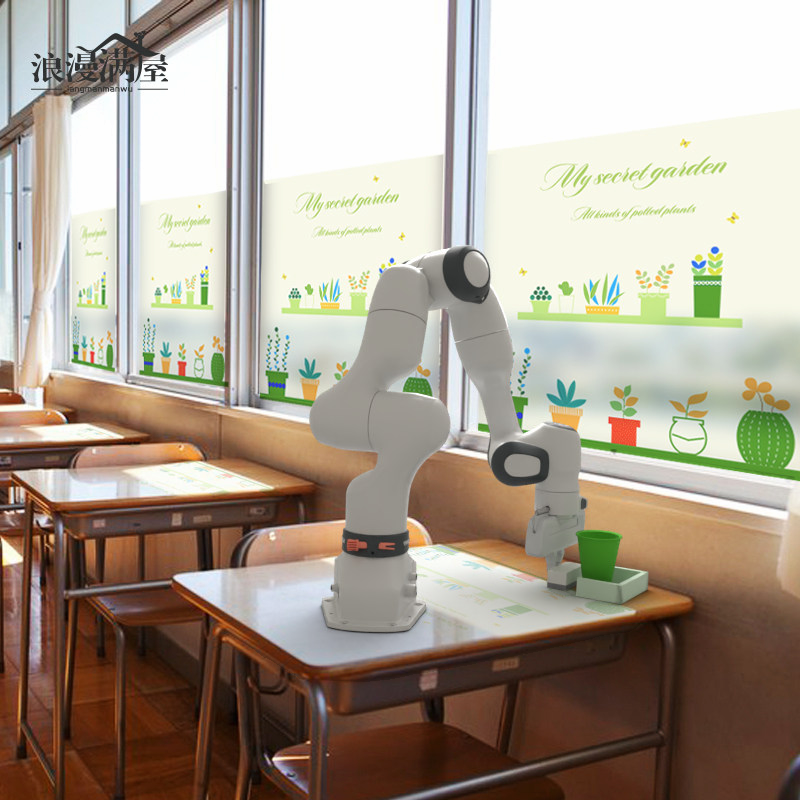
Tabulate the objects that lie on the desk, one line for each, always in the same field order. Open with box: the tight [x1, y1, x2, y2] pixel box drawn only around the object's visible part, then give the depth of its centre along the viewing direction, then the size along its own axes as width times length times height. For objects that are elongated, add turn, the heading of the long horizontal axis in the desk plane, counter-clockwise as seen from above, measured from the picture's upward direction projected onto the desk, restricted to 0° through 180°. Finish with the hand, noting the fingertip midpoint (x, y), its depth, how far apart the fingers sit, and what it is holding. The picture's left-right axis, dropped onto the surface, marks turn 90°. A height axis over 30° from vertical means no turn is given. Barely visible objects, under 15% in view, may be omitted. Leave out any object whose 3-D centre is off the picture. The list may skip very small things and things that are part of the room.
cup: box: [576, 529, 623, 583], centre depth 204 cm, size 9×9×11 cm
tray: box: [575, 565, 649, 605], centre depth 203 cm, size 14×9×4 cm, turn 146°
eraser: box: [546, 561, 582, 591], centre depth 208 cm, size 9×4×4 cm, turn 147°
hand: (553, 571), depth 210 cm, fingers closed, pressing on eraser
